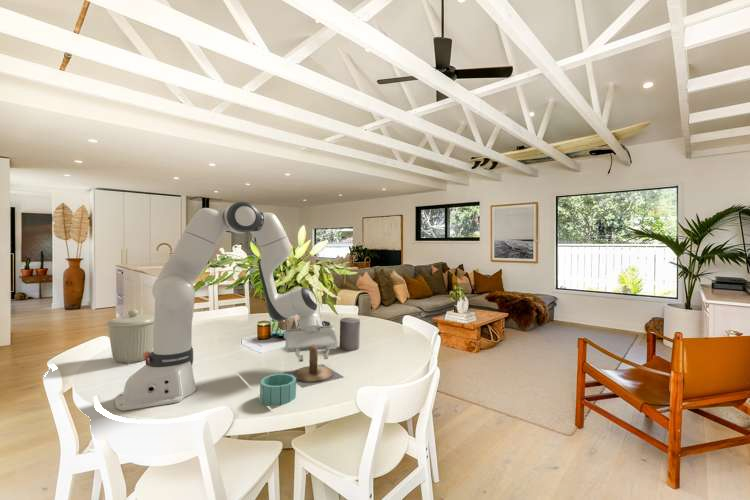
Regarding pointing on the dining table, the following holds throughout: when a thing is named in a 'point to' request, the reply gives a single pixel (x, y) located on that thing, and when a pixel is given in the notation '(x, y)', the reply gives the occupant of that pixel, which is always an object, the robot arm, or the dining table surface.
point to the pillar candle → (349, 333)
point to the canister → (131, 336)
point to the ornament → (290, 323)
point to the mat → (305, 384)
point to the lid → (313, 369)
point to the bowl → (277, 389)
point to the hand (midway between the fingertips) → (313, 359)
